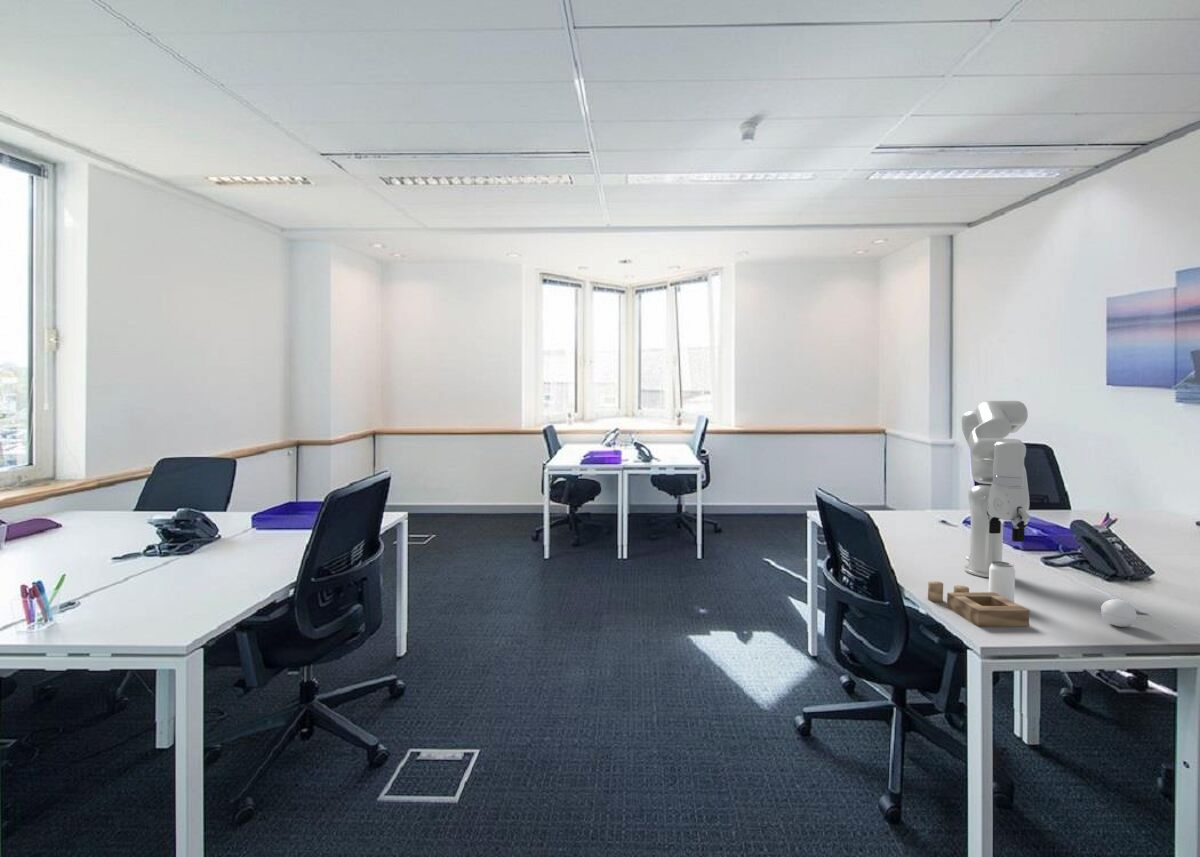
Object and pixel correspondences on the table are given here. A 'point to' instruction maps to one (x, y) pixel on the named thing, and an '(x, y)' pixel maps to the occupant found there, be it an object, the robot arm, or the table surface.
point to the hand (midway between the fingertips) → (1006, 537)
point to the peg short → (961, 589)
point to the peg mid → (935, 591)
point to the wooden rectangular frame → (988, 609)
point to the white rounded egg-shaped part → (1118, 612)
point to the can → (1002, 579)
